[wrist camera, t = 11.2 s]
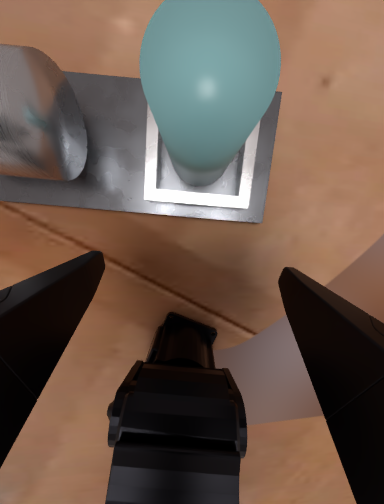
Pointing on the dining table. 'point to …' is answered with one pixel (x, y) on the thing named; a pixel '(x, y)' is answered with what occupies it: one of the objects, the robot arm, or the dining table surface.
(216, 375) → the robot arm
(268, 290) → the dining table surface
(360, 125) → the dining table surface
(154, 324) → the dining table surface
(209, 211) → the motor plate
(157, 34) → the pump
